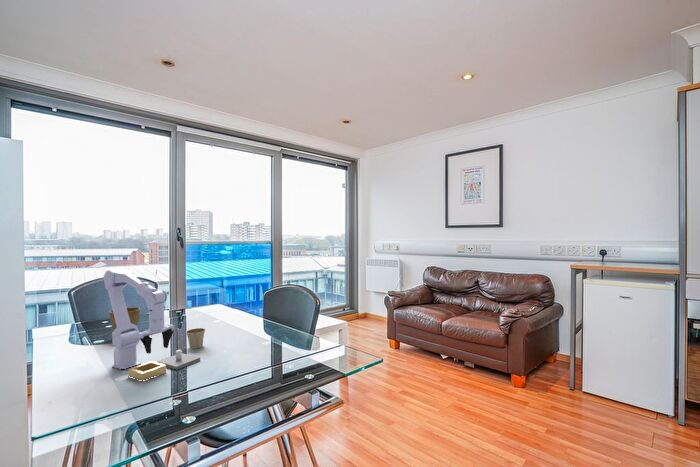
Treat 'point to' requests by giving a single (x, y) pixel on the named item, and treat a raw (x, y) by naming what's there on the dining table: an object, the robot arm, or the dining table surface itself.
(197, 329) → the flower pot
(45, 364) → the dining table surface
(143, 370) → the gold square frame
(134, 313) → the plant pot
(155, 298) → the robot arm
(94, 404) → the dining table surface
